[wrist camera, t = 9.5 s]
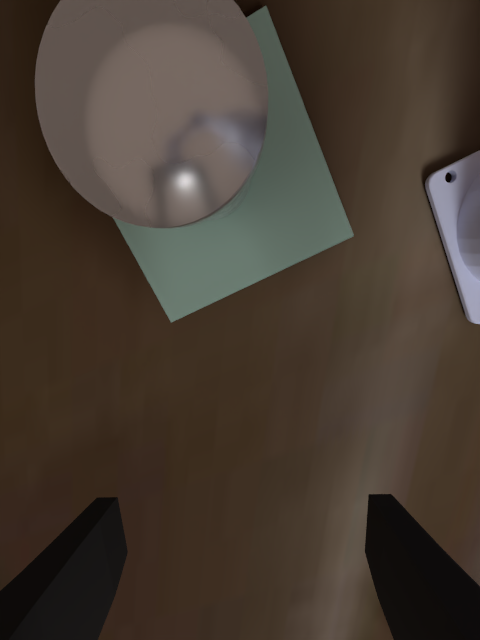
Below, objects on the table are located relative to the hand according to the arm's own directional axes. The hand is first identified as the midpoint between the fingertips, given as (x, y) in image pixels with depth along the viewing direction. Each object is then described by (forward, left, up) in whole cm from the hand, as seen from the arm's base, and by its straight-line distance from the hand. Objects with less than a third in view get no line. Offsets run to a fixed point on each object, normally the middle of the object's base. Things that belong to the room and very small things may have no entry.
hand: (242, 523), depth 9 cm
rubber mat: (-3, -10, -9) cm, 14 cm away
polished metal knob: (-3, -10, -8) cm, 14 cm away
